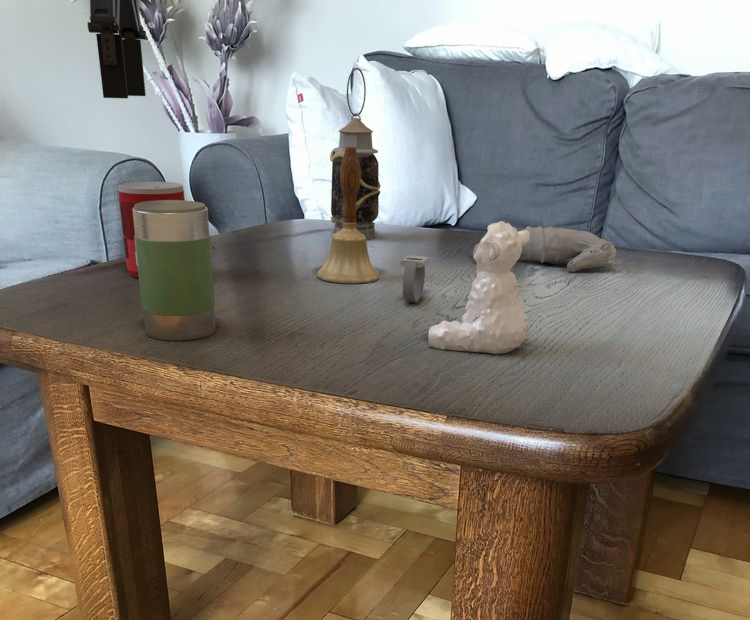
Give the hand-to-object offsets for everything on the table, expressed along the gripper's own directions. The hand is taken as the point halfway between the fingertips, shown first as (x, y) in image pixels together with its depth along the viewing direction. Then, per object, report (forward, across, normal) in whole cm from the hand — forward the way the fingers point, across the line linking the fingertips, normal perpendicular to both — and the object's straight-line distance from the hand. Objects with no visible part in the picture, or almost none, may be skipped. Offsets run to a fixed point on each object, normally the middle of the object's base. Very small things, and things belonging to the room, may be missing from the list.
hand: (125, 97), depth 102 cm
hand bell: (+21, -6, -28) cm, 35 cm away
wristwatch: (+21, -19, -34) cm, 45 cm away
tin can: (+21, -32, -9) cm, 39 cm away
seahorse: (+21, +3, -56) cm, 60 cm away
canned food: (+21, -5, -3) cm, 22 cm away
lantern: (+21, +25, -31) cm, 45 cm away
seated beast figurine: (+21, -38, -39) cm, 58 cm away
